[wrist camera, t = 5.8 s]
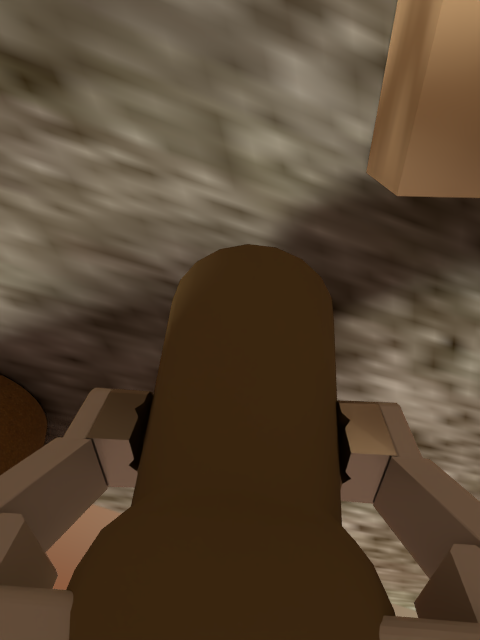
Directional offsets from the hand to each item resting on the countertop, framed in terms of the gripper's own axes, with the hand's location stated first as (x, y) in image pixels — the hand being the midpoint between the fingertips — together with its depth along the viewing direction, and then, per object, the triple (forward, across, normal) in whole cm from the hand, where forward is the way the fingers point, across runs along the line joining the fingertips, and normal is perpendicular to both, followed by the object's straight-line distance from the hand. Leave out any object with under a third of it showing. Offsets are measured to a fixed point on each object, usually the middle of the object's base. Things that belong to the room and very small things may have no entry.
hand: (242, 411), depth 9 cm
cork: (+5, 0, 0) cm, 5 cm away
